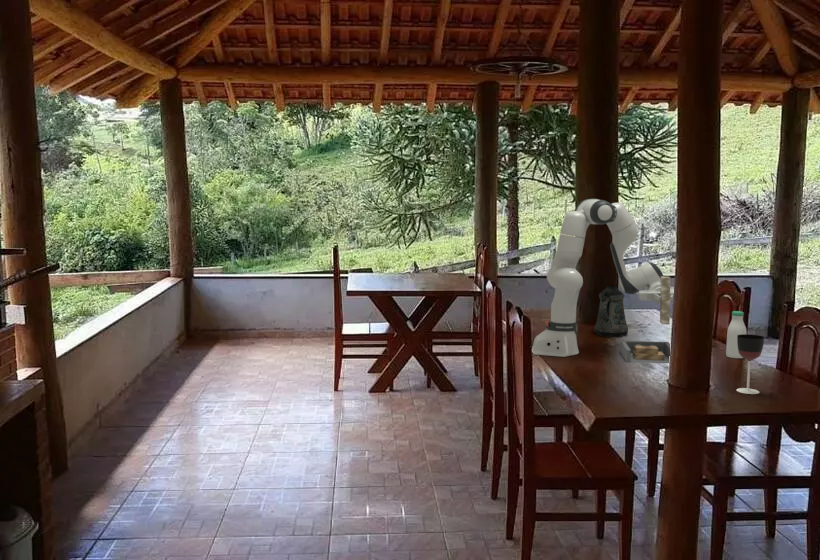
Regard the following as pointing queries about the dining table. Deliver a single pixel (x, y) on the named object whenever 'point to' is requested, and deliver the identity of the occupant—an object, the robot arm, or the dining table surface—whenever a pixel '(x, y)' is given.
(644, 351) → the upper offcut
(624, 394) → the dining table surface
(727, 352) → the milk bottle
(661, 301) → the birch strip
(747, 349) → the wineglass
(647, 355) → the lower offcut
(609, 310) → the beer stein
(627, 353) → the grey open tray
